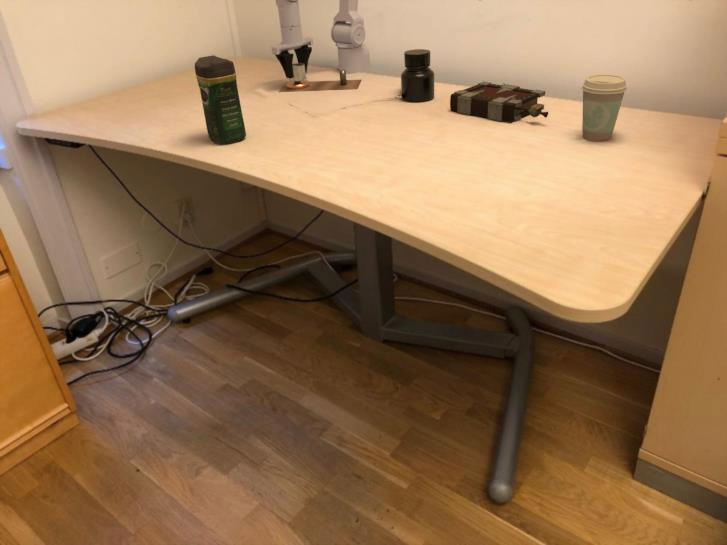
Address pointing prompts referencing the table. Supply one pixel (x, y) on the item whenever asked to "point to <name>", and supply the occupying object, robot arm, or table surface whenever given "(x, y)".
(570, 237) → the table surface
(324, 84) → the walnut board
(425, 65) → the ink bottle
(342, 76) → the stand rod
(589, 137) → the coffee cup
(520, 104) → the book
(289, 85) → the hub
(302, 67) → the steel collar
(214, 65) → the coffee jar
